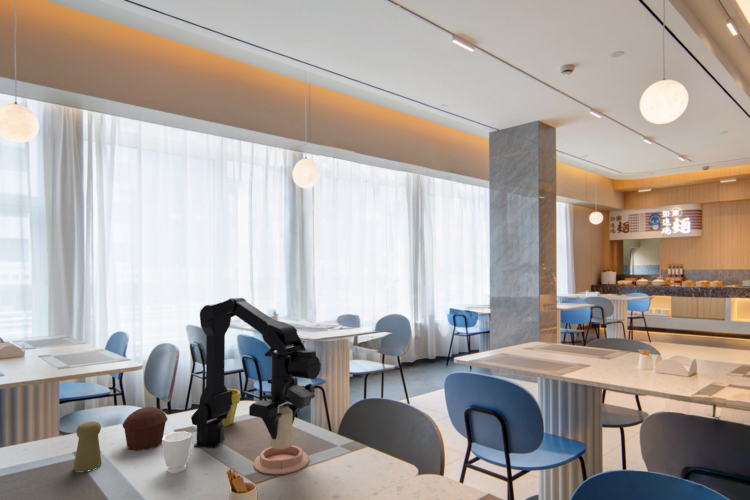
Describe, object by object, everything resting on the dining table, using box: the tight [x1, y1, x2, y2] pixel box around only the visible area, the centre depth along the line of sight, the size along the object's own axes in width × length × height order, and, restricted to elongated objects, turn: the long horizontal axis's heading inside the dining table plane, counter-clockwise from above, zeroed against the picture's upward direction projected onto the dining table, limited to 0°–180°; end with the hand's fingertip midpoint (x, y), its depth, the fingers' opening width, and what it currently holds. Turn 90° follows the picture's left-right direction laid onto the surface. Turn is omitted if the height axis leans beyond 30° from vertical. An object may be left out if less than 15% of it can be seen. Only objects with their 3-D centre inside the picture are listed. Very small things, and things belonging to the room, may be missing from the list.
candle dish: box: [253, 444, 310, 475], centre depth 116 cm, size 14×14×2 cm
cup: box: [161, 430, 194, 474], centre depth 113 cm, size 7×10×8 cm
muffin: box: [122, 406, 168, 452], centre depth 127 cm, size 12×11×10 cm
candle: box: [270, 406, 293, 449], centre depth 116 cm, size 6×6×10 cm
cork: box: [73, 420, 103, 471], centre depth 113 cm, size 6×6×11 cm
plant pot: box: [222, 388, 241, 427], centre depth 145 cm, size 10×10×10 cm
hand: (281, 435), depth 116 cm, fingers closed on candle, 5 cm apart
